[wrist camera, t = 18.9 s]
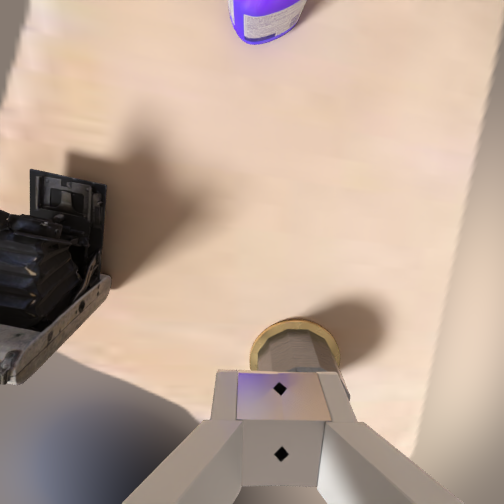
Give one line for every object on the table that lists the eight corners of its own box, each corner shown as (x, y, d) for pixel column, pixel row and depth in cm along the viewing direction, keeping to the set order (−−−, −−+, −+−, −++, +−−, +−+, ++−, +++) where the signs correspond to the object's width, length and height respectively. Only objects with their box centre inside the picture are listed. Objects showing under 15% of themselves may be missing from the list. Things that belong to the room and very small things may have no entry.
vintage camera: (125, 183, 41) (15, 207, 22) (113, 297, 45) (10, 401, 26) (46, 166, 40) (-142, 174, 21) (40, 282, 44) (-120, 378, 25)
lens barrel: (315, 304, 46) (331, 341, 37) (352, 373, 49) (374, 421, 41) (233, 343, 47) (230, 387, 39) (274, 407, 51) (280, 460, 43)
